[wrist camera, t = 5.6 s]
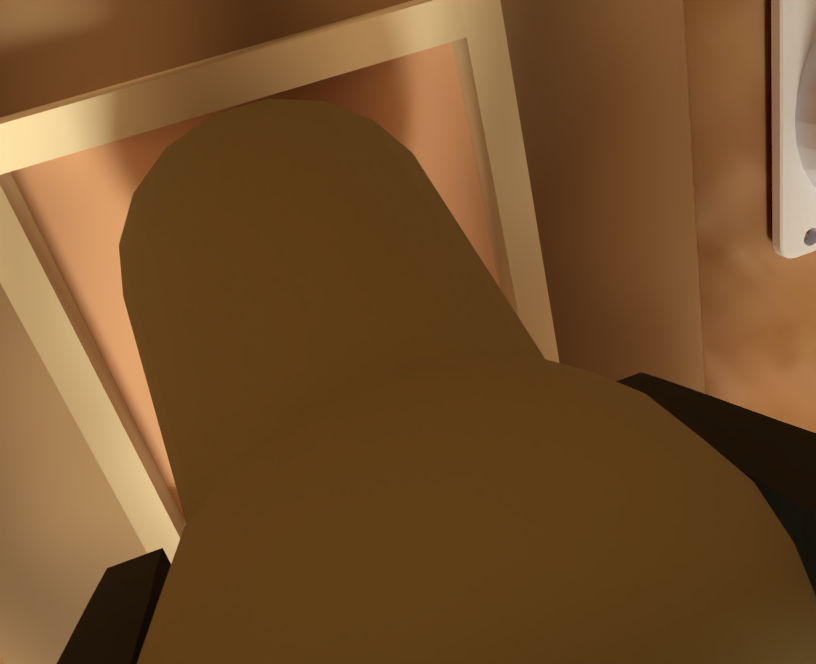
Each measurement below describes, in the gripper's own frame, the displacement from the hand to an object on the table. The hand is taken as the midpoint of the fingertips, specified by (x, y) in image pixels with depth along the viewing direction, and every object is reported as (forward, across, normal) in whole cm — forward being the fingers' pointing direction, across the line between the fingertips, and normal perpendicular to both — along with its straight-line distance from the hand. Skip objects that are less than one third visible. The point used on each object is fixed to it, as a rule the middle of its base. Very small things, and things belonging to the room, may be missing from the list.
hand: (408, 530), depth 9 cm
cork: (+7, 0, -1) cm, 7 cm away
